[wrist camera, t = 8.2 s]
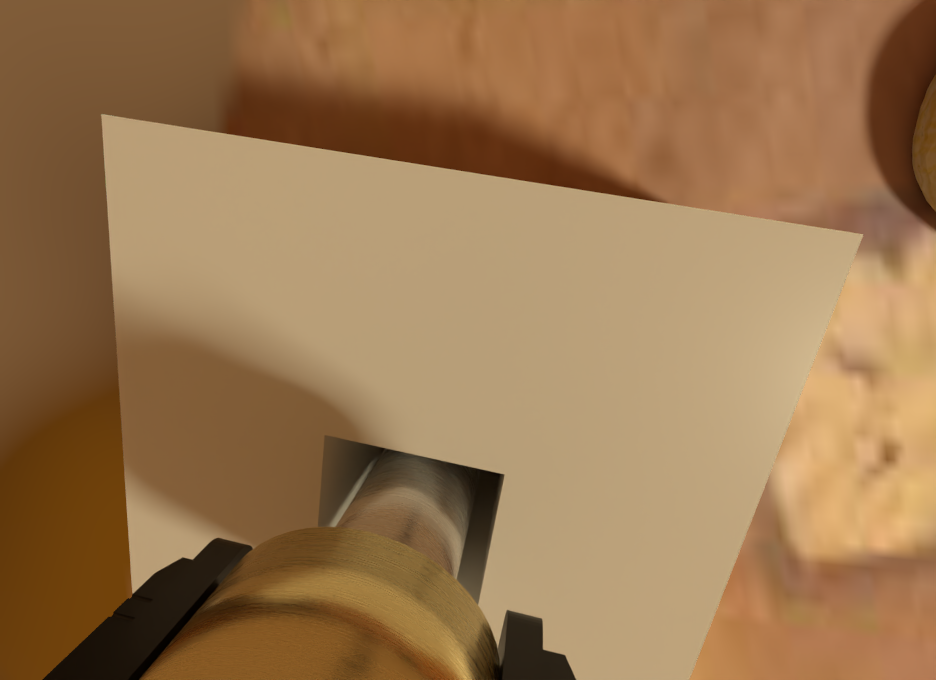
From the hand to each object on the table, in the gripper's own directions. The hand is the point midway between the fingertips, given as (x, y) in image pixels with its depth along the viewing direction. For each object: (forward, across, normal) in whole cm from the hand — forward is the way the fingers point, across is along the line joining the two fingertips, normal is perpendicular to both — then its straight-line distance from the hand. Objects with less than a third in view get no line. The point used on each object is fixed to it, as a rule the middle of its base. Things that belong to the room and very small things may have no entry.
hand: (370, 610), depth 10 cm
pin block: (+12, 0, 0) cm, 12 cm away
